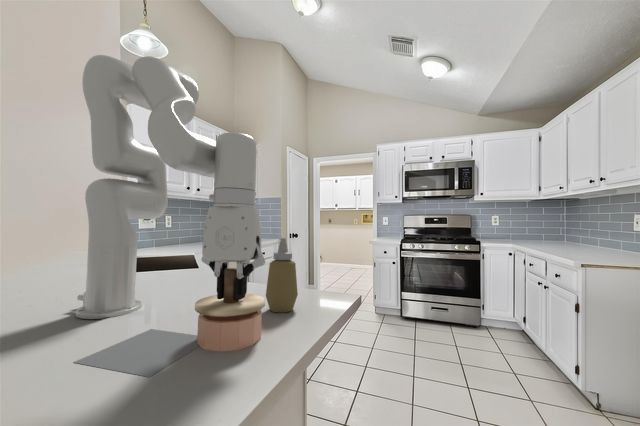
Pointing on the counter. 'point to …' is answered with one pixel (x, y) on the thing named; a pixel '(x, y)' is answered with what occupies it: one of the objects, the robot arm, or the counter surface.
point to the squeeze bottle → (282, 281)
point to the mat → (143, 353)
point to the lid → (229, 300)
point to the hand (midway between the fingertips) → (231, 297)
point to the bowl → (229, 331)
